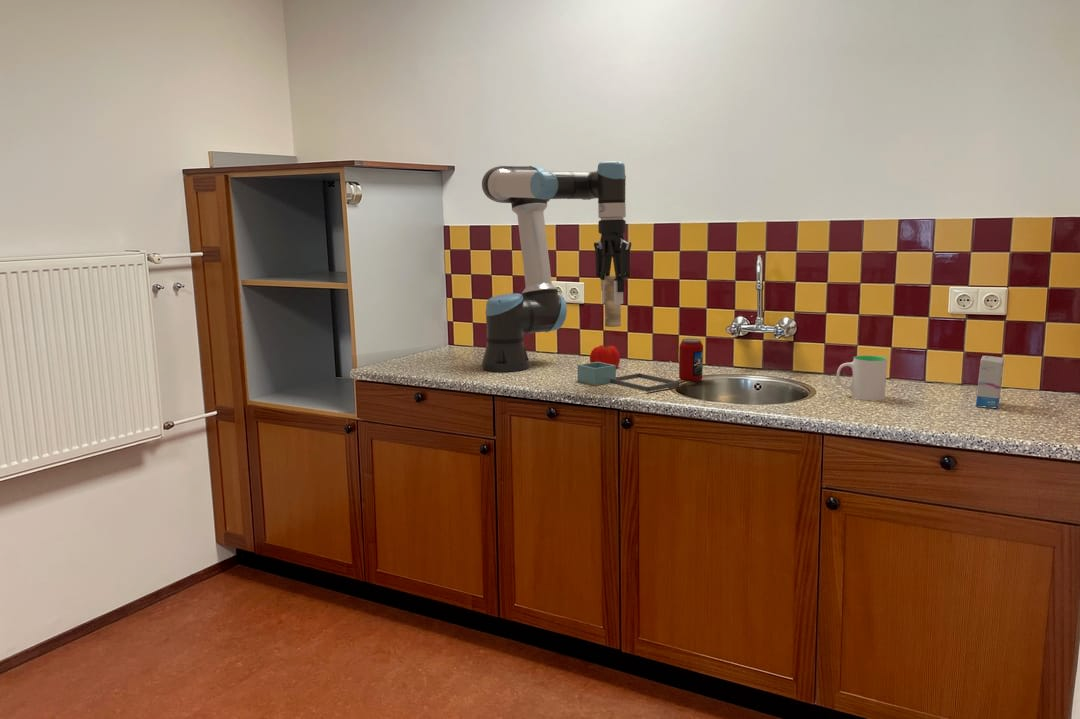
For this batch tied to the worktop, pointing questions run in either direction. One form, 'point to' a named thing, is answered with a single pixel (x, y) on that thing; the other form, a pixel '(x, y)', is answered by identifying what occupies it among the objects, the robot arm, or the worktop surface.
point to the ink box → (989, 381)
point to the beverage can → (691, 360)
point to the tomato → (605, 355)
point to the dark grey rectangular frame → (668, 384)
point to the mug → (867, 377)
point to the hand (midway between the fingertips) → (612, 303)
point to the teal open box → (596, 373)
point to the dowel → (611, 304)
